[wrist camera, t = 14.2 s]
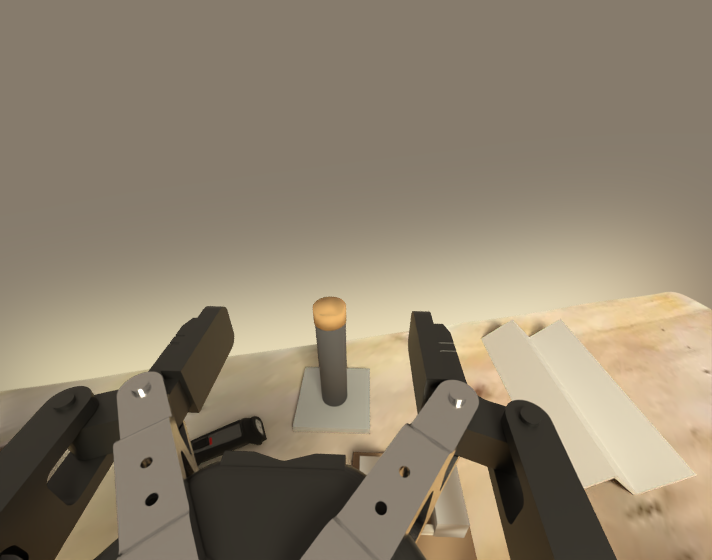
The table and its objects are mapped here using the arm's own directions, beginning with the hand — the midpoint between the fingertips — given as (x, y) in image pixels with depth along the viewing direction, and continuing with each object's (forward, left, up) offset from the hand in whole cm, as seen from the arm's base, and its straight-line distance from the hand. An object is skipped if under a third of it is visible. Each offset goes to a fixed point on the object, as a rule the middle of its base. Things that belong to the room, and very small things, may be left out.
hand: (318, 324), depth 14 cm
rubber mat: (-2, +18, -30) cm, 35 cm away
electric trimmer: (-17, +10, -31) cm, 36 cm away
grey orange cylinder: (-2, +18, -29) cm, 34 cm away
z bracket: (+30, +19, -31) cm, 47 cm away
